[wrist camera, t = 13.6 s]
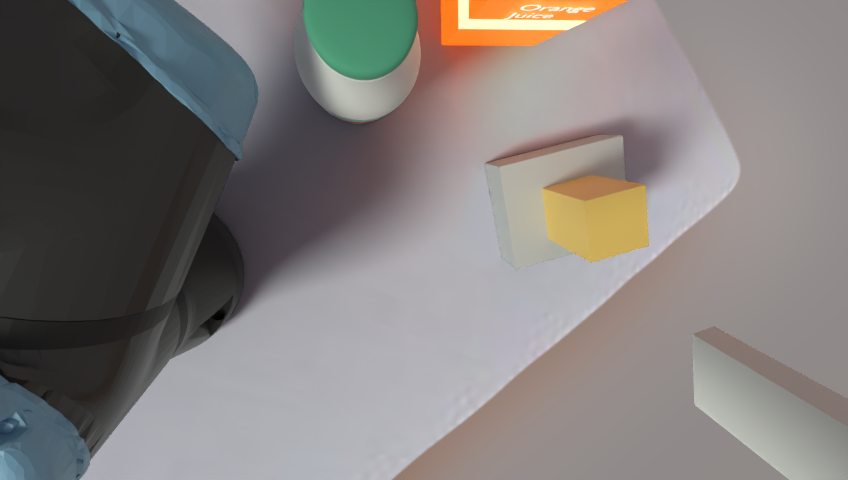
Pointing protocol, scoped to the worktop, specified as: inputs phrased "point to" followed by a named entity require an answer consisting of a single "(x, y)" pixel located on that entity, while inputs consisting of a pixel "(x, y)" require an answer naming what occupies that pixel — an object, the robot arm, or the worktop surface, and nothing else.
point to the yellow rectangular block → (597, 216)
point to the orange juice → (514, 19)
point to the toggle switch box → (523, 199)
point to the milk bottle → (358, 55)
